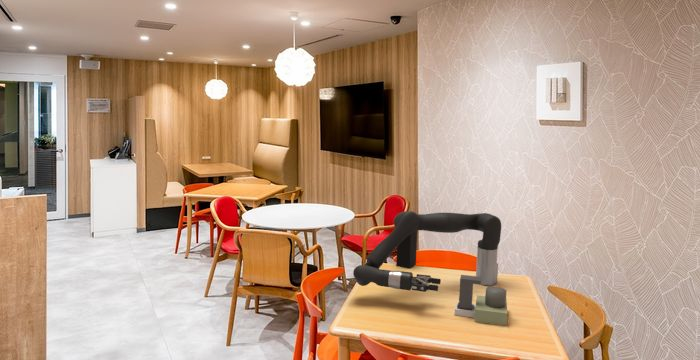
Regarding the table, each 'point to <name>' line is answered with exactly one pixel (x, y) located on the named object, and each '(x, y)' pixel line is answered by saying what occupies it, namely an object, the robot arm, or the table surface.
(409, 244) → the black upright block
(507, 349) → the table surface
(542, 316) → the table surface
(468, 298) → the dark grey angled block
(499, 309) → the green block with cylinder
